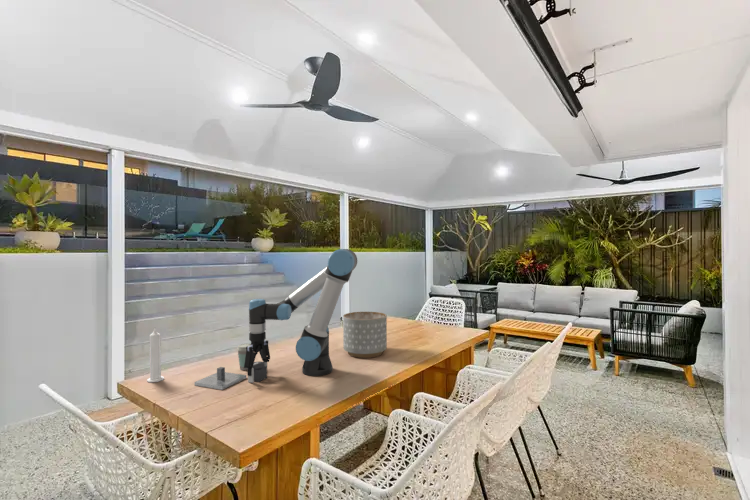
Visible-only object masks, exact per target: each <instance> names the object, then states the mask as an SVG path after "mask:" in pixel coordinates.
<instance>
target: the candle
mask: <svg viewBox="0 0 750 500" xmlns="http://www.w3.org/2000/svg"><path fill="white" fill-rule="evenodd" d="M161 340H162V339H161V333H159V332H158V331H157V328H156V327H154V328H153V331H152V332H151V333H150V334H149V377H148V378H147V379H146V382H147V383H159V382H162V381H163V380H165V376H163V375H162V358H161V357H162V354H161V353H162V352H161V349H162V348H161Z"/></svg>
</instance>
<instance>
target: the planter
mask: <svg viewBox="0 0 750 500" xmlns="http://www.w3.org/2000/svg"><path fill="white" fill-rule="evenodd" d="M342 318H343V320H342V321H343V322H342V323H343V326H342V328H343V329H342V330H343V331H342V332H343V334H342V335H343V337H342V338H343V347H342V348H343V350H344V351H346V353H347V354H348V355H349V356H350V357H354V358H359V359H363V358H364V359H367V358H368V359H369V358H375V357H379V356H381V355H383V352H384V351H386V350H387V337H388V336H387V323H388V322H387V314H386V313H383V312H377V311H354V312H352V311H351V312H348V313H345V314H343V316H342Z"/></svg>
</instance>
